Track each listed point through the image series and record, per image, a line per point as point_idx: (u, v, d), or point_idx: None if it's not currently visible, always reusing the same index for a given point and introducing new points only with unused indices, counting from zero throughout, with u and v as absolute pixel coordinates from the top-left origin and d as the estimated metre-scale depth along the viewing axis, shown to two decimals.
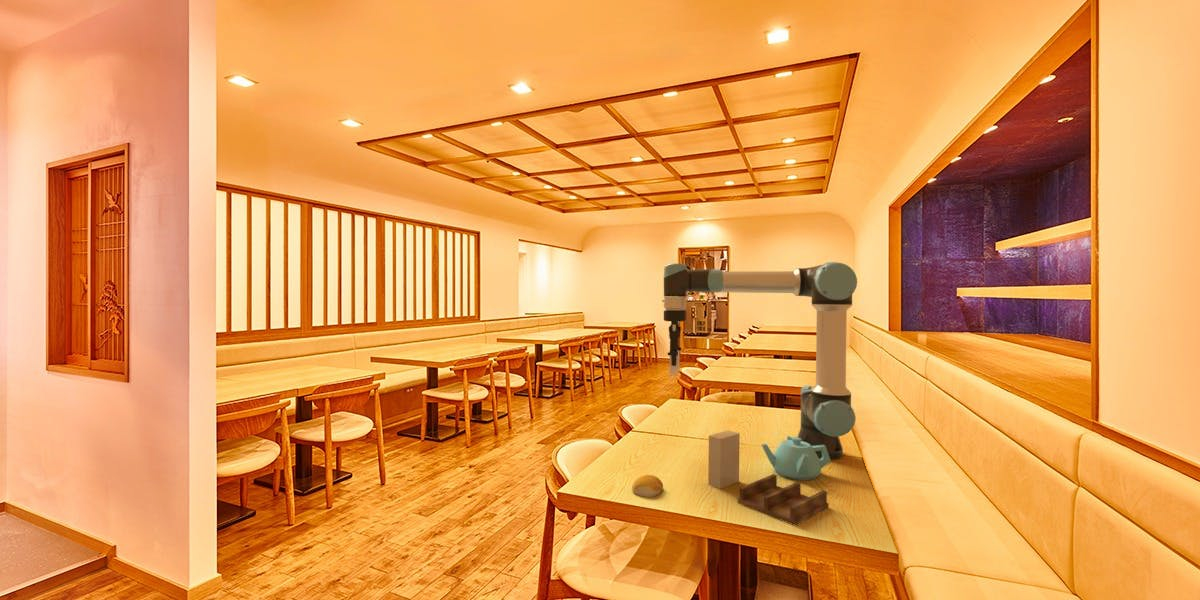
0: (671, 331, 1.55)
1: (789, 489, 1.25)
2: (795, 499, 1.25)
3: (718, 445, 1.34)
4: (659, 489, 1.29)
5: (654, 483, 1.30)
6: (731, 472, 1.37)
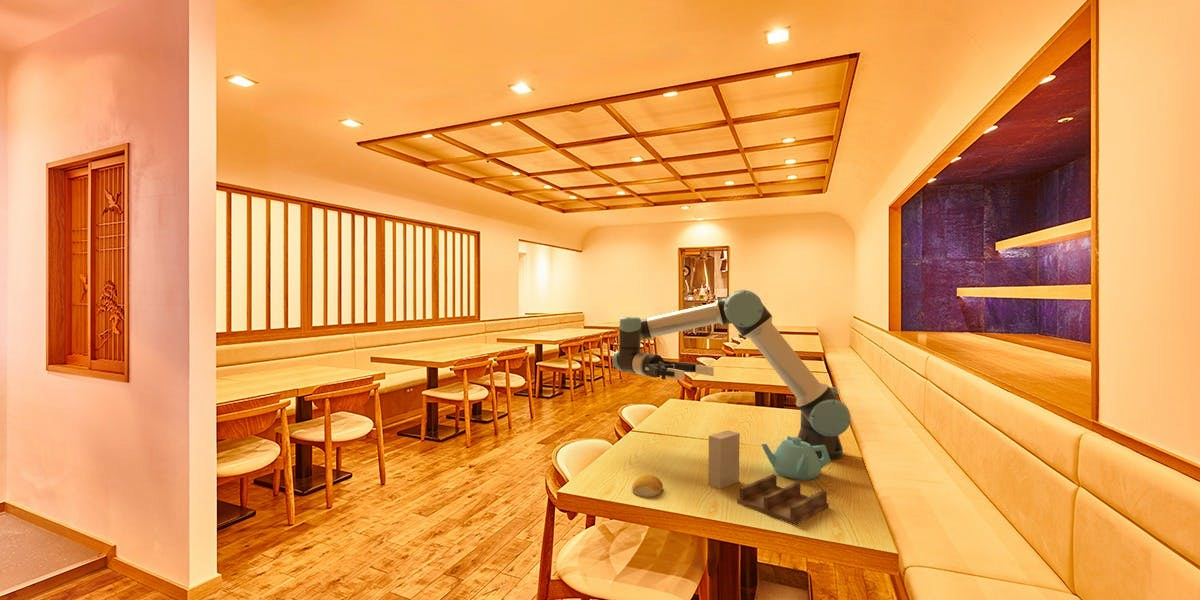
0: (648, 371, 1.52)
1: (789, 489, 1.25)
2: (795, 499, 1.25)
3: (718, 445, 1.34)
4: (659, 489, 1.29)
5: (654, 483, 1.29)
6: (731, 472, 1.37)
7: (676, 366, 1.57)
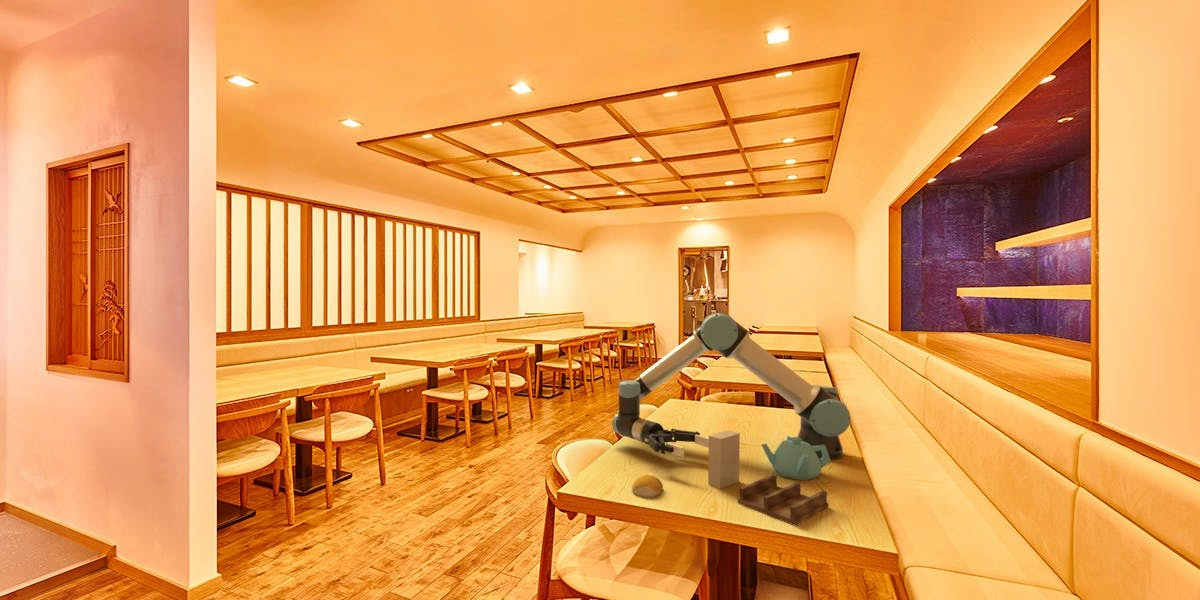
0: (648, 443, 1.52)
1: (789, 489, 1.25)
2: (795, 499, 1.25)
3: (718, 445, 1.34)
4: (659, 489, 1.29)
5: (654, 483, 1.29)
6: (731, 472, 1.37)
7: (675, 435, 1.57)
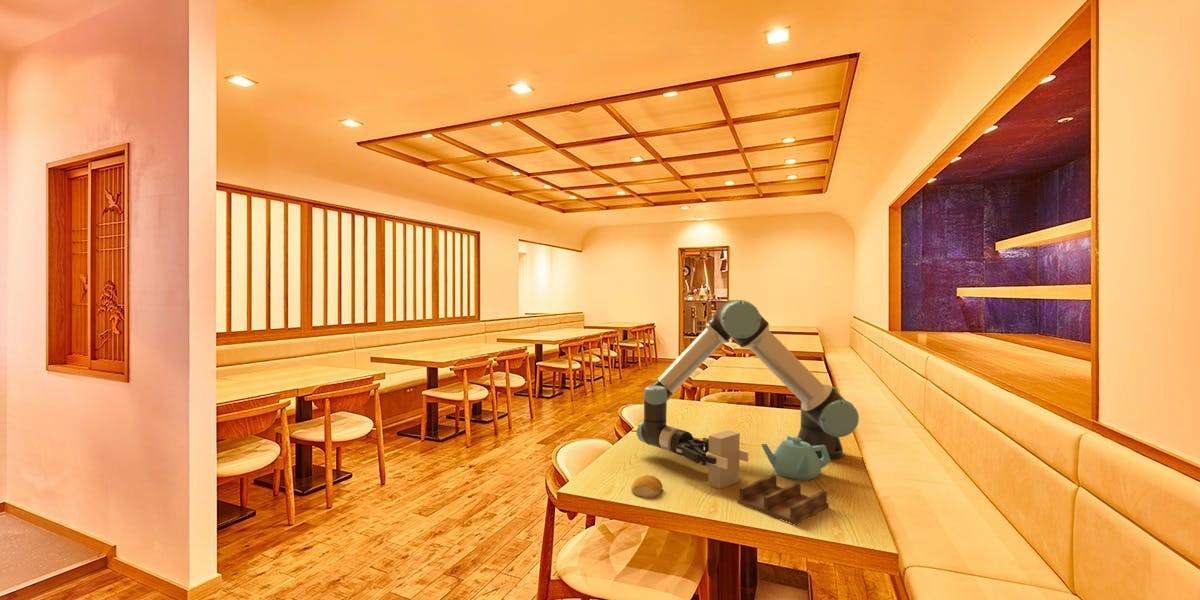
0: (681, 454, 1.42)
1: (789, 489, 1.25)
2: (795, 499, 1.25)
3: (718, 445, 1.34)
4: (658, 489, 1.29)
5: (653, 484, 1.29)
6: (731, 472, 1.37)
7: (706, 446, 1.46)
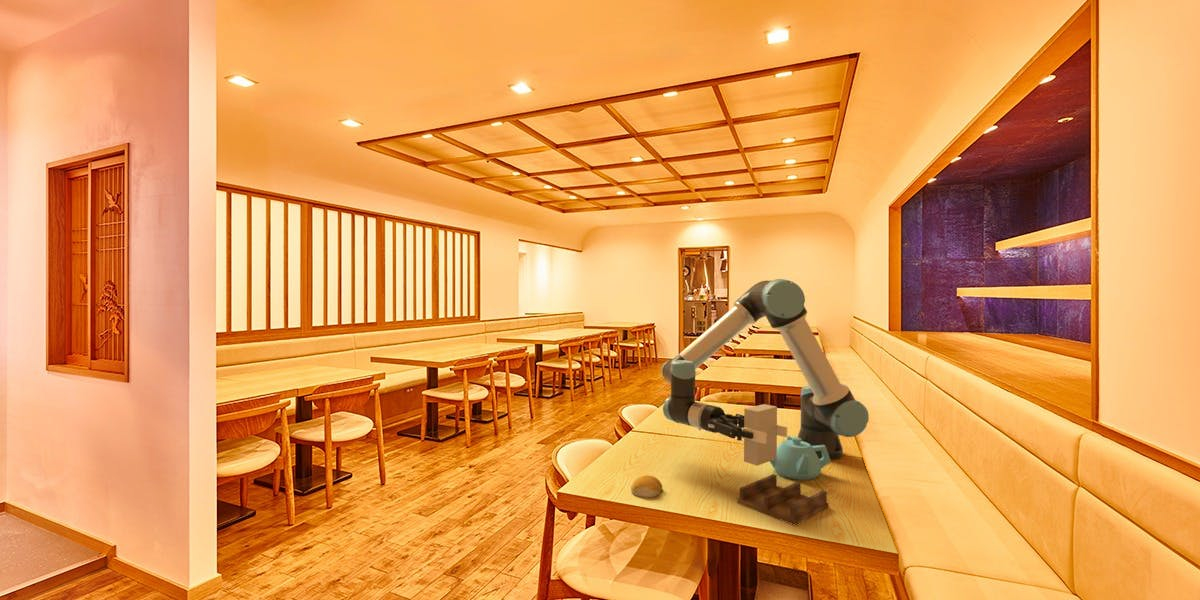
0: (714, 429, 1.32)
1: (789, 489, 1.25)
2: (795, 499, 1.25)
3: (755, 418, 1.24)
4: (658, 490, 1.29)
5: (653, 484, 1.29)
6: (769, 448, 1.27)
7: (740, 421, 1.36)
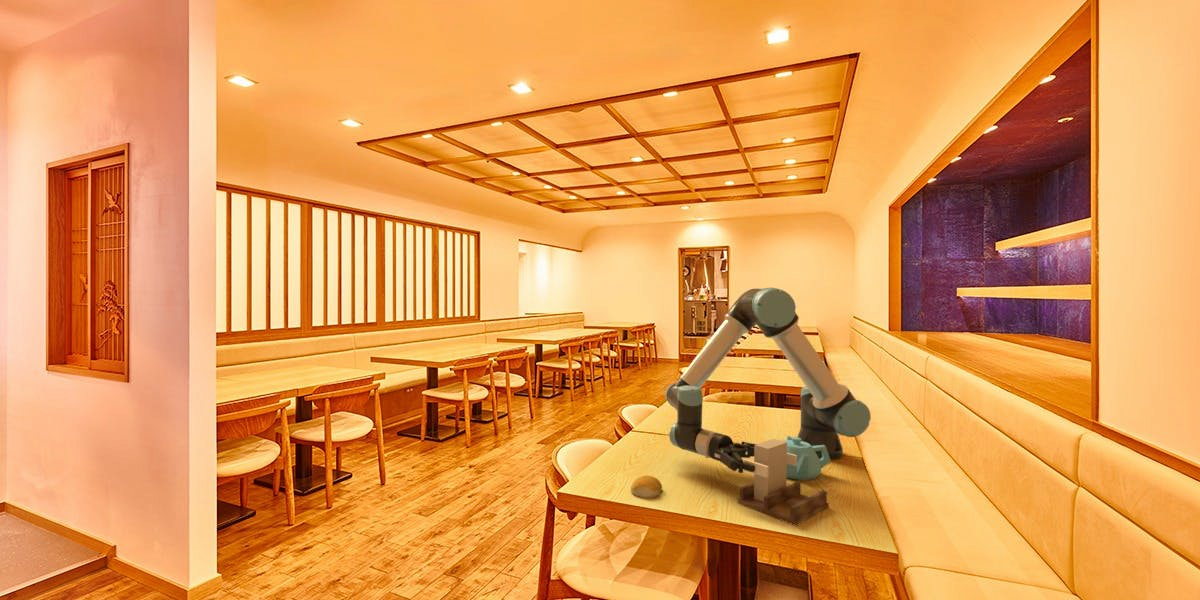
0: (719, 460, 1.31)
1: (789, 489, 1.25)
2: (795, 499, 1.25)
3: (766, 455, 1.22)
4: (658, 490, 1.29)
5: (653, 484, 1.29)
6: (779, 485, 1.26)
7: (749, 450, 1.35)
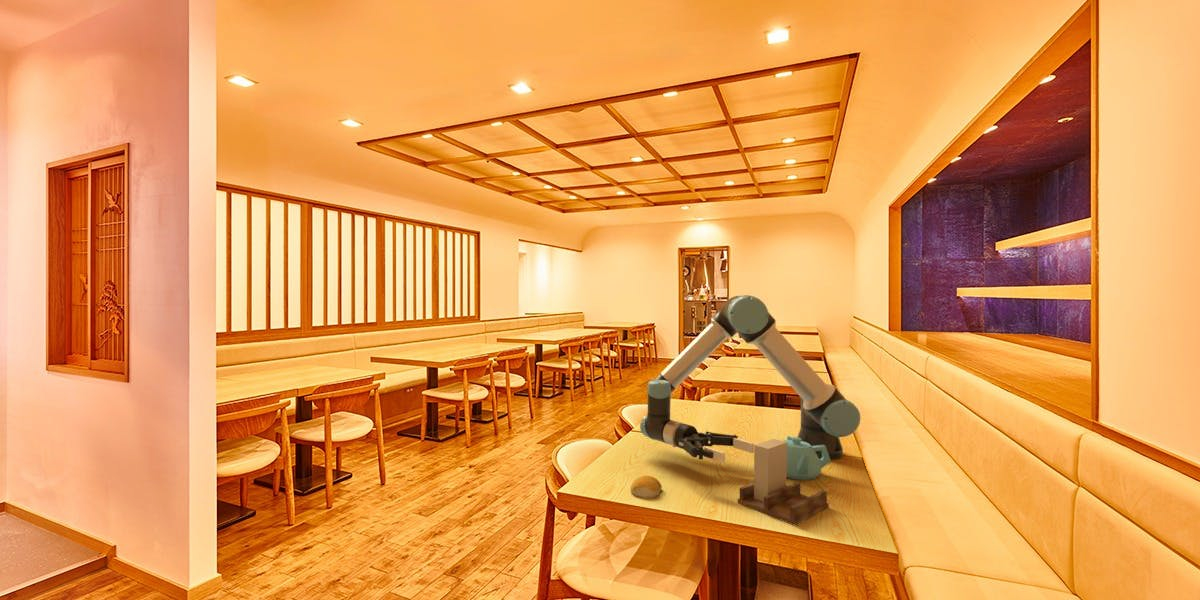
0: (683, 447, 1.41)
1: (789, 489, 1.25)
2: (795, 499, 1.25)
3: (766, 455, 1.22)
4: (658, 490, 1.29)
5: (652, 484, 1.29)
6: (779, 485, 1.26)
7: (712, 439, 1.45)
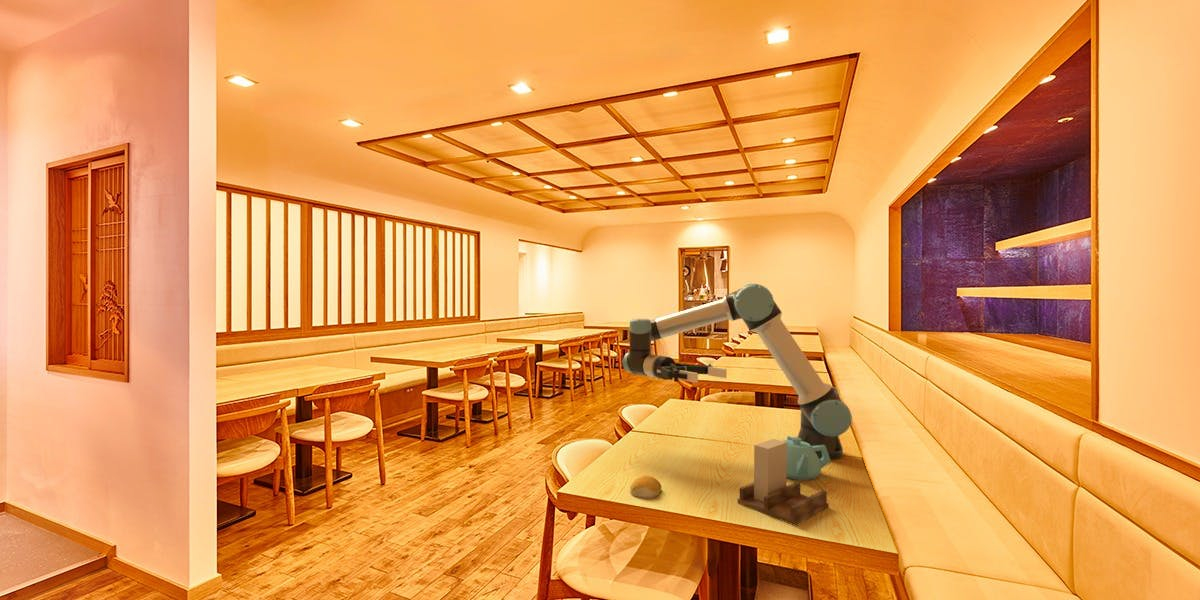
0: (660, 374, 1.50)
1: (789, 489, 1.25)
2: (795, 499, 1.25)
3: (766, 455, 1.22)
4: (657, 490, 1.28)
5: (652, 484, 1.29)
6: (779, 485, 1.26)
7: (688, 368, 1.55)
